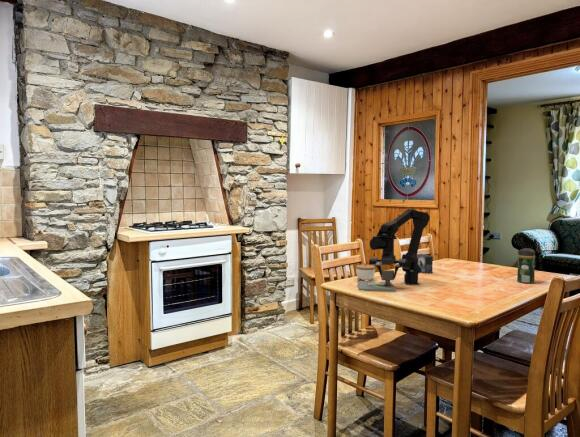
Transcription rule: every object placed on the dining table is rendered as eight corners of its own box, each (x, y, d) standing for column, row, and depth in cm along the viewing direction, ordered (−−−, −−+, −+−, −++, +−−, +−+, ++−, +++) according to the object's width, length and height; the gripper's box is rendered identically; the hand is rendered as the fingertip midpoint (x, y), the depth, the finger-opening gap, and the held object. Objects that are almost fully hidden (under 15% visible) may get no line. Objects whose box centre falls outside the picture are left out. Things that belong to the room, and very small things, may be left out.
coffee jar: (519, 279, 234) (520, 246, 233) (535, 281, 229) (536, 248, 228) (515, 282, 227) (516, 248, 226) (531, 284, 222) (532, 249, 220)
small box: (412, 271, 260) (412, 254, 260) (420, 270, 263) (421, 253, 262) (424, 273, 251) (425, 256, 250) (432, 273, 254) (433, 256, 253)
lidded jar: (353, 280, 231) (353, 263, 230) (359, 277, 240) (359, 261, 240) (371, 282, 226) (372, 265, 225) (377, 279, 235) (377, 262, 235)
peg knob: (391, 283, 216) (392, 269, 216) (394, 285, 212) (394, 271, 212) (367, 284, 215) (367, 270, 215) (369, 286, 211) (369, 271, 211)
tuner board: (391, 283, 223) (391, 281, 223) (396, 291, 205) (396, 289, 205) (357, 282, 225) (357, 280, 225) (359, 290, 207) (359, 288, 207)
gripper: (367, 249, 209) (367, 280, 210) (405, 251, 202) (405, 282, 204) (370, 246, 219) (370, 275, 220) (407, 248, 213) (407, 278, 214)
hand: (388, 278), depth 214 cm, fingers closed on peg knob, 6 cm apart
